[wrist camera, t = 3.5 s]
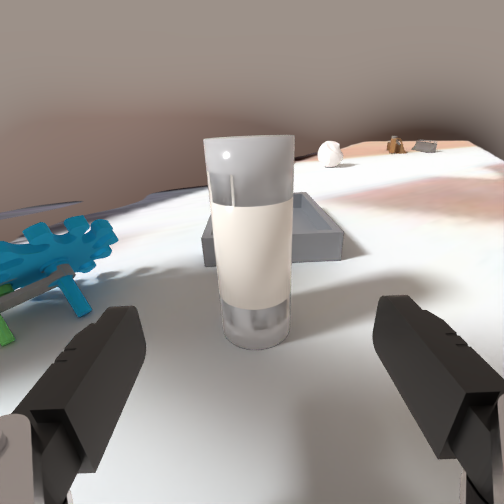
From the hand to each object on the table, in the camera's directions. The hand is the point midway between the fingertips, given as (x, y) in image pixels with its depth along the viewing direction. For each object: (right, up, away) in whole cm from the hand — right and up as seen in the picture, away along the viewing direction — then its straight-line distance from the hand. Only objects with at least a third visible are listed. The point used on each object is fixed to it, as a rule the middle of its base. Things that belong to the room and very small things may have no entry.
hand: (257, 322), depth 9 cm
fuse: (0, -3, +10) cm, 10 cm away
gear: (-16, -2, +13) cm, 21 cm away
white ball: (+24, +29, +77) cm, 86 cm away
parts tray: (+2, +5, +26) cm, 27 cm away
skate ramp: (+64, +47, +114) cm, 139 cm away
